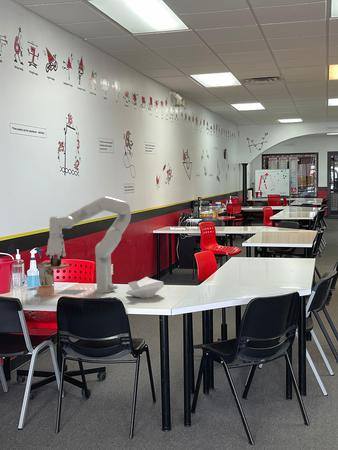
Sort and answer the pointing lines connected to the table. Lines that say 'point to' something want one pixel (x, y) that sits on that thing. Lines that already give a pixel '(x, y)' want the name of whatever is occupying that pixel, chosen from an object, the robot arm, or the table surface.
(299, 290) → the table surface
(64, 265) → the lid
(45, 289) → the bowl
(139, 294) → the paper
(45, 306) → the table surface
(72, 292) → the mat
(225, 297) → the table surface
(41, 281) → the coffee box
